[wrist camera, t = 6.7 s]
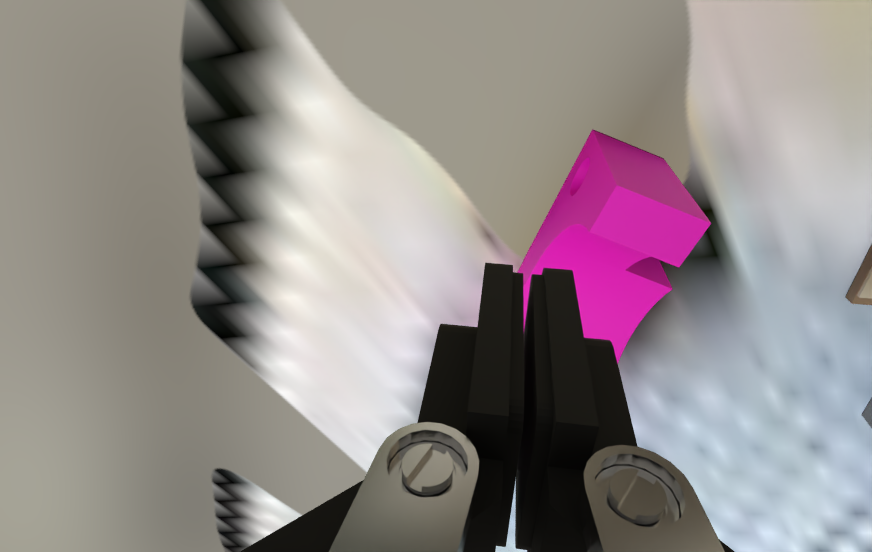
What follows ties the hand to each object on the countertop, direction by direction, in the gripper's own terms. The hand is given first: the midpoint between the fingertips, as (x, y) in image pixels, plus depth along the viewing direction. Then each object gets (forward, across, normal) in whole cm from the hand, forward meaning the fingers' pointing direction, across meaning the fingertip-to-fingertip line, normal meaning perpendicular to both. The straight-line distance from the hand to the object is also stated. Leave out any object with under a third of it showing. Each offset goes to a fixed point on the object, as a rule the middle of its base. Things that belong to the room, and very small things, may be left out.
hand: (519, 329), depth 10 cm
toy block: (+17, -4, +9) cm, 20 cm away
